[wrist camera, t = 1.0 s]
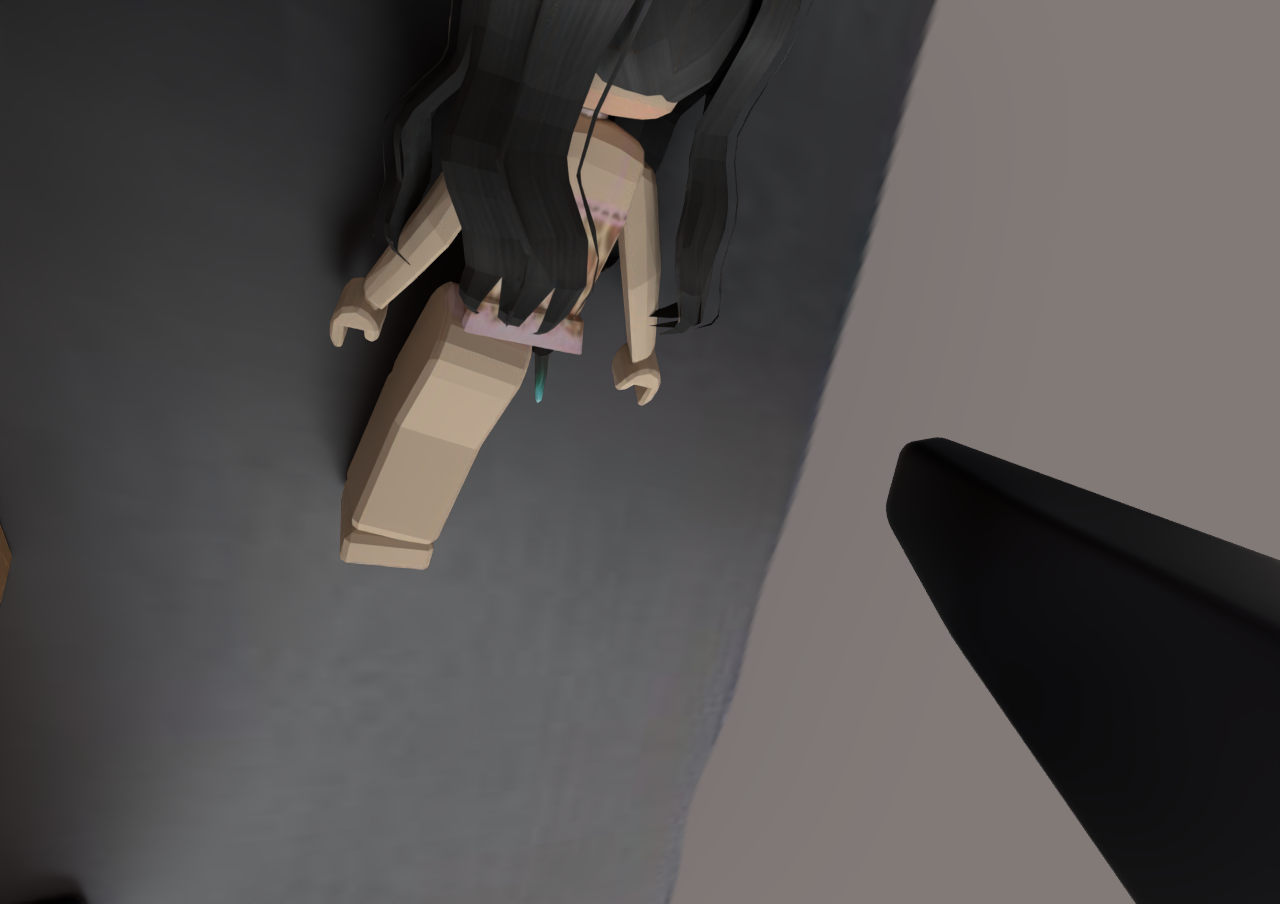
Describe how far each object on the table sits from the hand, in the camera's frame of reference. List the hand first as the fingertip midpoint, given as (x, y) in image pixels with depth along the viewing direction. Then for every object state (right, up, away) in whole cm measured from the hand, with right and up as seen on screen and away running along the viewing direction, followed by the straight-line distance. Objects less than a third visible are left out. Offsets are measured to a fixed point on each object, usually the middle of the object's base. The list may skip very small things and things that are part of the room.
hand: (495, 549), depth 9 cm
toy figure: (-1, +6, +12) cm, 13 cm away
